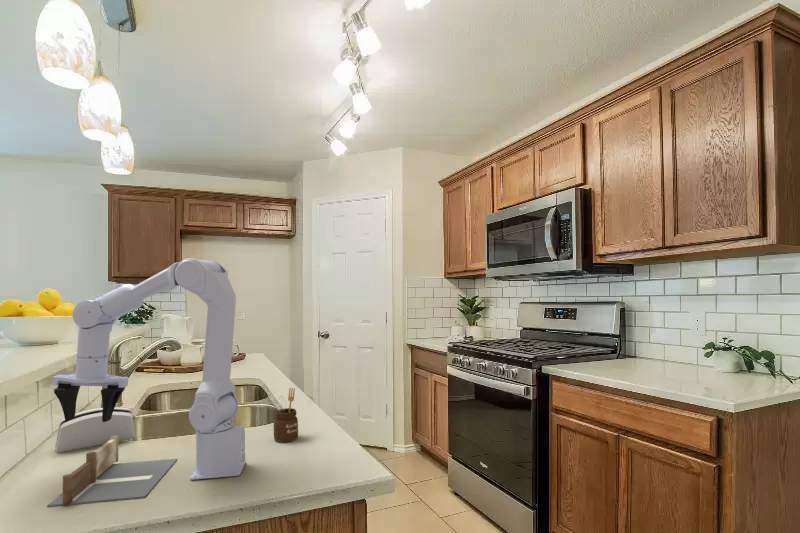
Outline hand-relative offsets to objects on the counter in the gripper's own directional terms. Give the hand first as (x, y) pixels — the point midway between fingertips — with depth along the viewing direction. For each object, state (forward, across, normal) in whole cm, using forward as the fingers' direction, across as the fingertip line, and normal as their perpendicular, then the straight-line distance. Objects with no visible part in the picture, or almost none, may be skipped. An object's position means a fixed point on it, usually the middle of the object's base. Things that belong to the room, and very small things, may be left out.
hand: (88, 420), depth 100 cm
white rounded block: (+12, +8, -18) cm, 22 cm away
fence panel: (+9, -5, +2) cm, 11 cm away
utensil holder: (+8, -40, -14) cm, 43 cm away
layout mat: (+10, -11, +7) cm, 16 cm away
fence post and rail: (+10, -6, +12) cm, 17 cm away
